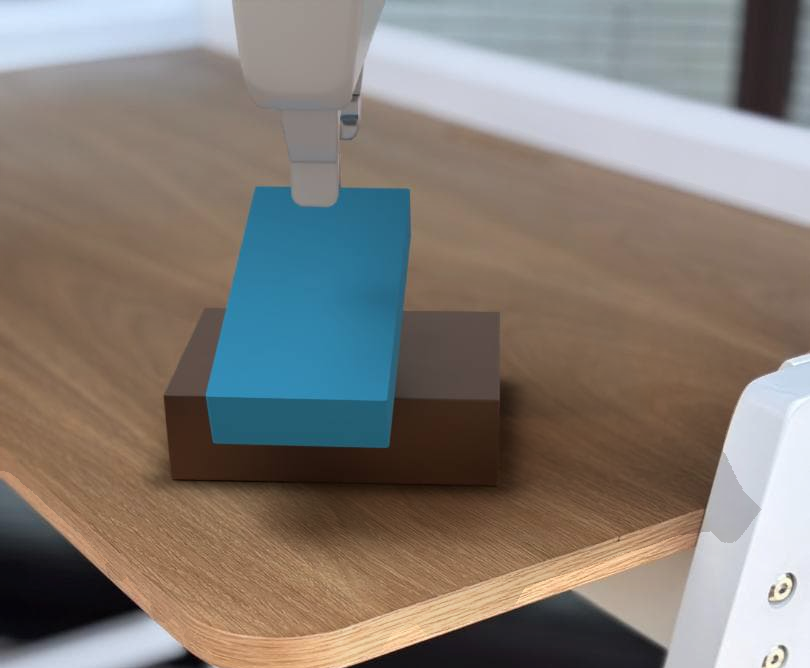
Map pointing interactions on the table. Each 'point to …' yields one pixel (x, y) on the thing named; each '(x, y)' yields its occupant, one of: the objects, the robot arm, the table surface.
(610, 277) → the table surface
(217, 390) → the blue rectangular block
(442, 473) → the walnut block
